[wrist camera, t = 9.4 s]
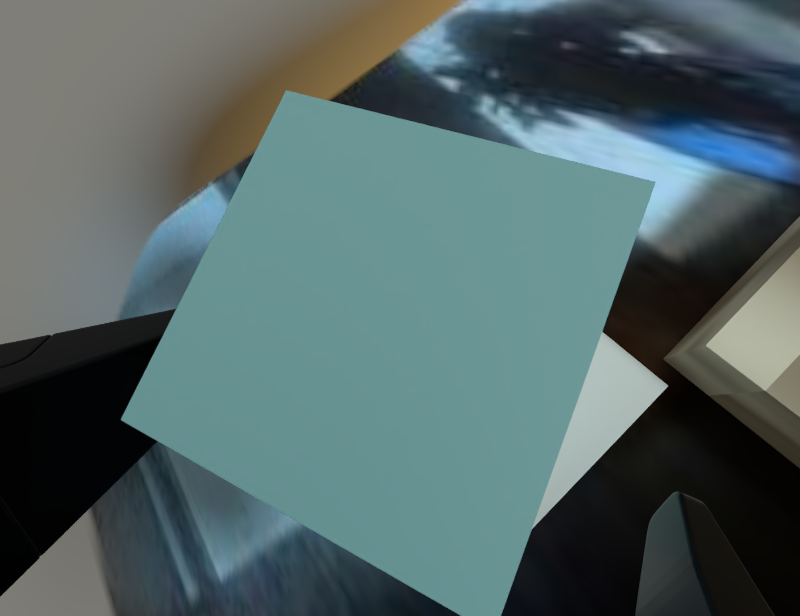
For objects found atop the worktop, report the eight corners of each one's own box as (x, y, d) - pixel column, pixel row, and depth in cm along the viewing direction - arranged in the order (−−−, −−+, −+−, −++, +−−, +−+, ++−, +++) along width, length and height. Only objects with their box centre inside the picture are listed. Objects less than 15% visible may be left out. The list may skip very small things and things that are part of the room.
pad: (469, 583, 16) (467, 596, 15) (302, 388, 19) (290, 386, 18) (656, 387, 16) (668, 385, 15) (460, 226, 19) (458, 214, 18)
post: (494, 460, 16) (493, 635, 3) (395, 414, 17) (121, 420, 4) (533, 357, 16) (656, 181, 4) (434, 320, 17) (286, 90, 5)
